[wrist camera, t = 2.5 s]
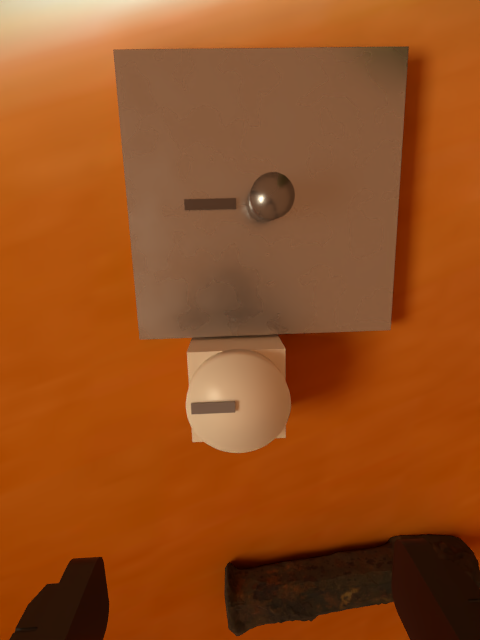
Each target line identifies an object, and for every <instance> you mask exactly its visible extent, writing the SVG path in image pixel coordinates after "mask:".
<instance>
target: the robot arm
mask: <svg viewBox="0 0 480 640" xmlns="http://www.w3.org/2000/svg"><path fill="white" fill-rule="evenodd" d="M391 588H392V595H393V600H394V603H395V607H396V609H397V612H398V614H399V616H400V619H401V621H402V623H403V625H404V627H405V629H406V631H407V634H408V636H409V638H410V640H480V589H479V588H478V586H477V585H476V583H475V582H474V581H473V579H472V578H471V577H470V576H469V575H468V574H467V573H465V572H464V571H463V570H462V569H461V568H459V567H458V566H457V565H456V564H455V563H453V562H452V561H451V560H440V558H439V557H438V555H437V554H436V552H435V551H434V549H433V548H432V546H431V545H430V544H429V542H428V541H427V540H425V539H423V538H422V539H405V540H396V541H395V544H394V555H393V568H392V581H391ZM108 614H109V599H108V591H107V584H106V576H105V569H104V562H103V559H102V557H92V558H76V559H72V560H71V561H70V562H69V564H68V566H67V568H66V570H65V572H64V574H63V576H62V578H61V580H60V582H59V583H56V584H47V585H46V586H45V587H44V588H43V589H42V590H41V591H40V592H39V594H38V595H37V596H36V597H35V598H34V599H33V600H32V601H31V602H30V603H29V604H28V606H27V608H26V610H25V612H24V614H23V615H22V617H21V619H20V621H19V623H18V625H17V627H16V630H15V633H13V634H12V636H11V638H10V640H103V638H104V634H105V631H106V627H107V622H108Z"/></svg>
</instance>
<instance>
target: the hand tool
mask: <svg viewBox="0 0 480 640" xmlns="http://www.w3.org/2000/svg"><path fill="white" fill-rule="evenodd" d="M422 538H423V539H425V540H427V541H428V542H429V544H430V545H431V546H432V548H433V549H434V551H435V552H436V554H437V555H438V557H439V558H440V560H451V561H452V562H453V563H455V564H456V565H457V566H458V567H459V568H461V569H462V570H463V571H464V572H465V573H467V574H468V575H469V576H470V577H471V578H472V579H473V581H474V582H475V583H476V585H477V586H478V588H479V589H480V570H479V567H478V560H477V559H476V557H475V555H474V553H473V552H472V550H471V549H470V548H469V547H468V546H467V545H466V544H465V543H464V542H463V541H462V540H461V539H459V538H456V537H453V536H444V535H429V534H428V535H419V536H394V537H391V538H390V539H389V541H388V543H387V544H386V545H382V546H380V547H376V548H370V549H363V550H354V551H348V552H340V551H339V552H337V553H334V554H331V555H326V556H321V557H315V558H308V559H299V560H294V561H288V562H281V563H278V564H271V565H264V566H259V567H255V568H250V569H240V570H239V569H236V568H235V567H234V566H233V565H232V564H231V563H230V562H229V563H228V564H227V566H226V568H225V603H226V611H227V618H228V628H229V630H231V632H233V633H234V634H235V635H236V636H240V635H242V634H243V633H245V632H246V631H248V630H249V629H252V628H254V627H256V626H260V625H264V624H271V623H278V622H279V623H282V622H285V621H294V620H301V621H307V620H310V621H312V620H314V619H315V618H316V617H317V616H318V615H321V614H328V613H330V612H337V611H342V610H346V609H352V608H359V607H364V606H370V605H375V604H377V605H379V604H381V603H383V604H387V603H390V602H394V600H393V595H392V588H391V581H392V568H393V555H394V544H395V541H396V540H405V539H422Z"/></svg>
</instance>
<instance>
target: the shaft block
mask: <svg viewBox="0 0 480 640" xmlns="http://www.w3.org/2000/svg"><path fill="white" fill-rule="evenodd" d="M408 48H409V47H320V48H223V49H125V50H113V51H114V62H115V73H116V84H117V95H118V106H119V117H120V128H121V139H122V150H123V161H124V172H125V183H126V194H127V205H128V216H129V227H130V238H131V249H132V260H133V271H134V282H135V293H136V304H137V315H138V326H139V337H140V339H165V338H192V337H218V336H245V335H271V334H298V333H324V332H351V331H378V330H391V315H392V299H393V283H394V268H395V252H396V236H397V221H398V205H399V189H400V174H401V158H402V142H403V127H404V111H405V95H406V80H407V64H408Z"/></svg>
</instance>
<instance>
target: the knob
mask: <svg viewBox="0 0 480 640" xmlns="http://www.w3.org/2000/svg"><path fill="white" fill-rule="evenodd" d="M187 361H188V377H189V389H188V393H187V398H186V412H187V417H188V420H189V423H190V425H191V427H192V441H193V442H205V443H207V444H208V445H210V446H212V447H214V448H216V449H219V450H221V451H225V452H232V453H243V452H250V451H254V450H256V449H259V448H261V447H263V446H265V445H267V444H268V443H270V442H271V441H273V440H274V439H275V438H286V423H287V421H288V418H289V415H290V410H291V397H290V392H289V389H288V386H287V383H286V348H285V347H284V345H283V343H282V341H281V340H280V338H279V336H278V334H271V335H245V336H218V337H192V339H191V342H190V345H189V348H188V351H187Z"/></svg>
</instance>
